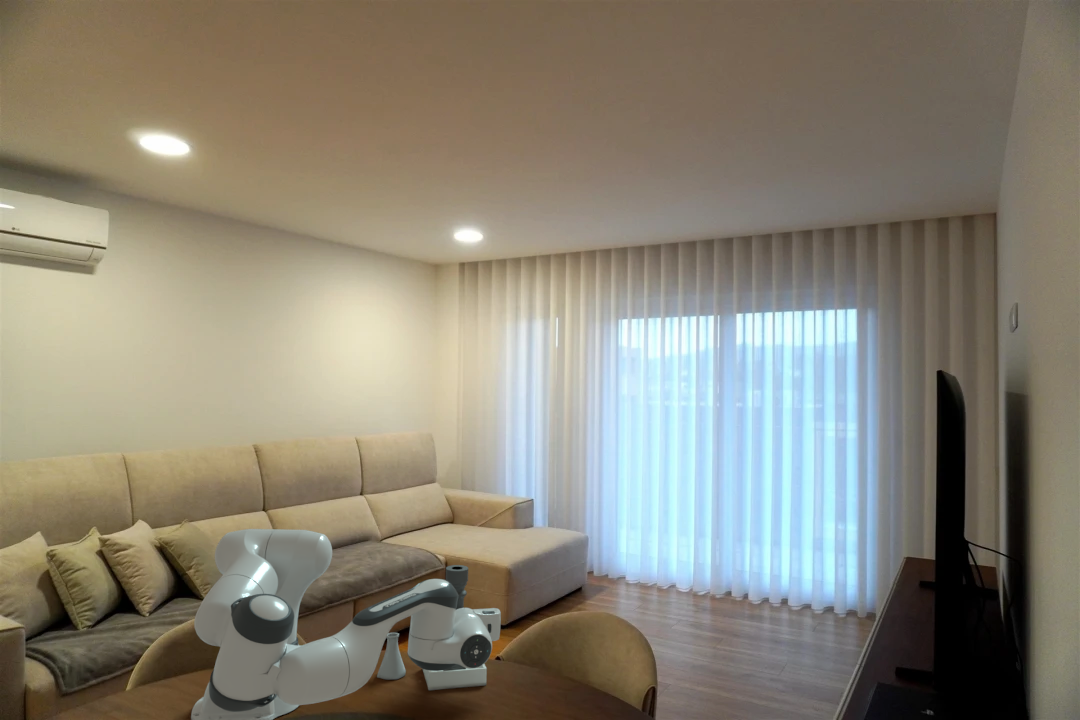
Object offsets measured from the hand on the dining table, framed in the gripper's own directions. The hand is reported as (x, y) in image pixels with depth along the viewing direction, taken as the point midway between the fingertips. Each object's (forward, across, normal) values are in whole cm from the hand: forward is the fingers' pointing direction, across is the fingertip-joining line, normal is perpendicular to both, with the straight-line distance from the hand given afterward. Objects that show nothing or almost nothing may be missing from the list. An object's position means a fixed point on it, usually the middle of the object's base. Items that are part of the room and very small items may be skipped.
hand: (455, 611), depth 177 cm
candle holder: (0, 0, -14) cm, 14 cm away
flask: (+4, -15, -16) cm, 22 cm away
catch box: (-1, 0, -16) cm, 16 cm away
